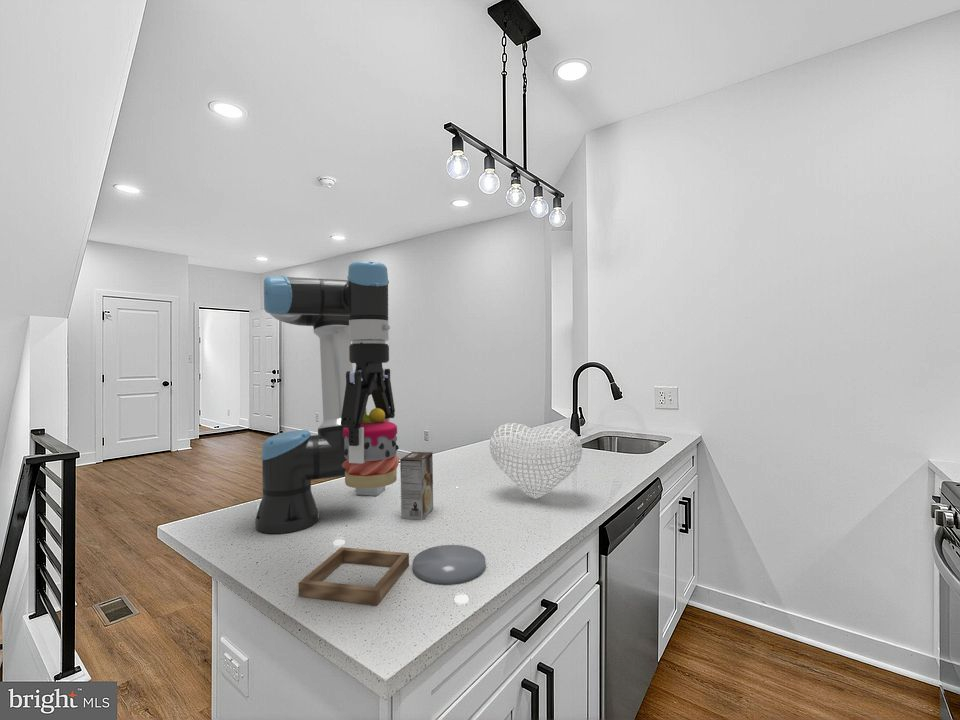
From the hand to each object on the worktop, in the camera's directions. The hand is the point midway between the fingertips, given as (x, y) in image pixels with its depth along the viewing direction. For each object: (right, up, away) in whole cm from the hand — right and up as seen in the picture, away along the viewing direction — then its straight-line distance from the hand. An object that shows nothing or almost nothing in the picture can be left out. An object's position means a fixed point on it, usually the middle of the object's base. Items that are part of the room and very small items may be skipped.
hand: (370, 456), depth 90 cm
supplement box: (-13, -23, +55) cm, 61 cm away
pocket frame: (-3, -24, 0) cm, 24 cm away
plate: (+15, -24, +5) cm, 29 cm away
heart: (+38, -23, +48) cm, 65 cm away
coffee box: (+4, -24, +36) cm, 43 cm away
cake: (0, -5, 0) cm, 5 cm away
